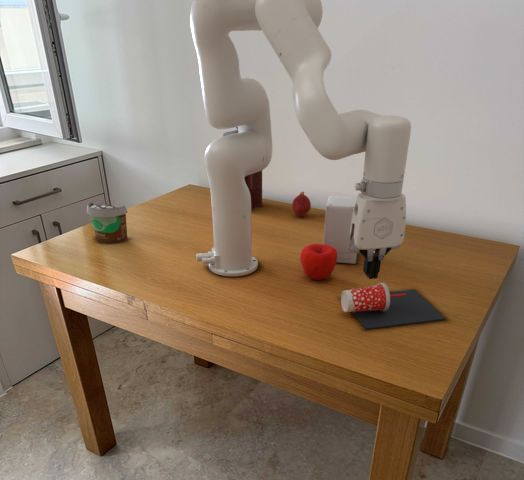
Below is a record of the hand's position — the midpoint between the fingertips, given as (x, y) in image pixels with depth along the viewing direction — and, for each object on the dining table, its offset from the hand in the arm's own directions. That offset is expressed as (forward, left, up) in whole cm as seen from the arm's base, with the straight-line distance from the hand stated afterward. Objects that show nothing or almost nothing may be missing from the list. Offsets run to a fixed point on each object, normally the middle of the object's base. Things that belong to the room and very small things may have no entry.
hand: (370, 276), depth 107 cm
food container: (-56, +56, -9) cm, 80 cm away
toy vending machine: (-11, +77, -9) cm, 78 cm away
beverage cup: (-6, 0, -5) cm, 8 cm away
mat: (+6, 0, -9) cm, 11 cm away
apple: (-5, +19, -9) cm, 22 cm away
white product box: (+5, +30, -9) cm, 32 cm away
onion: (+4, +63, -9) cm, 64 cm away
